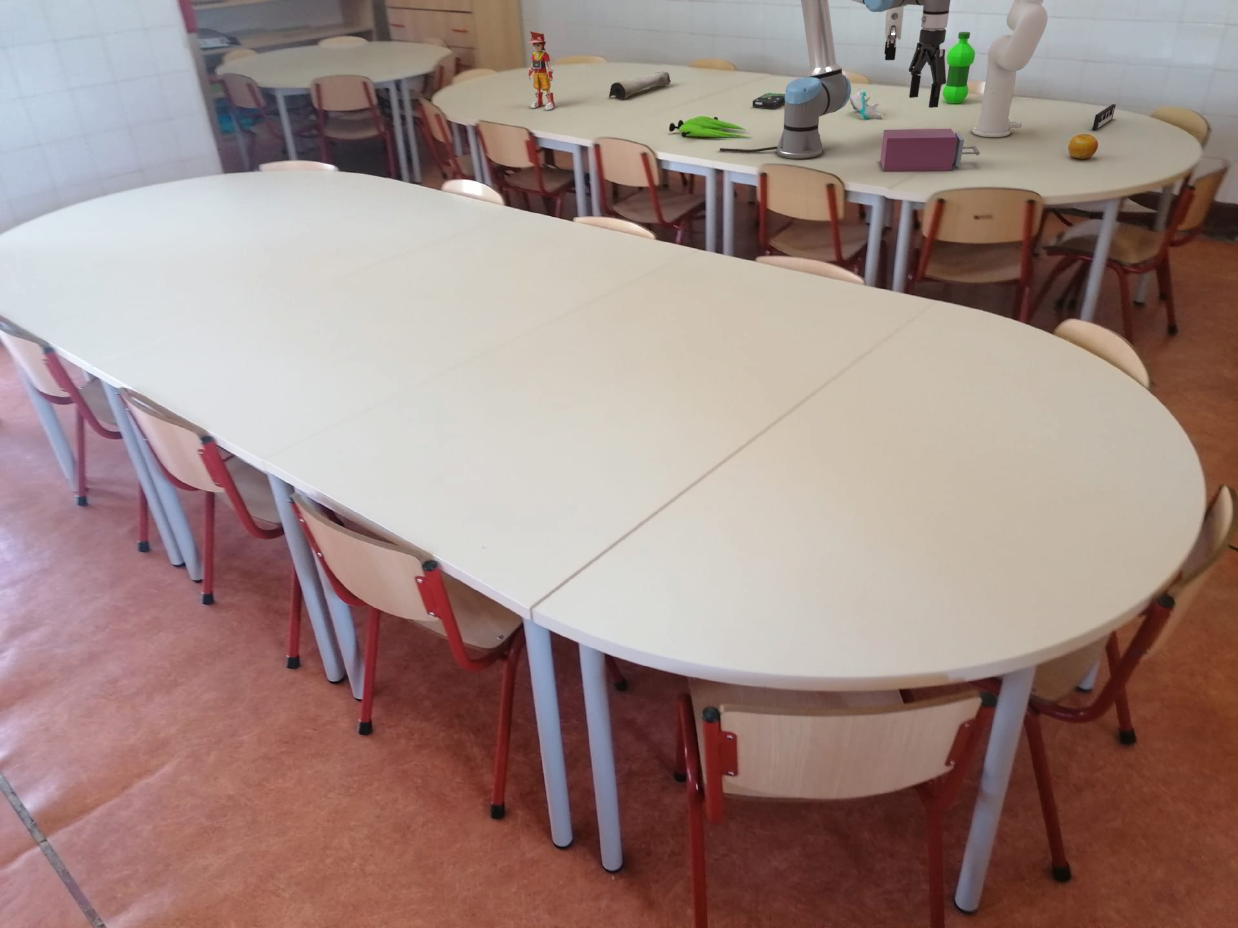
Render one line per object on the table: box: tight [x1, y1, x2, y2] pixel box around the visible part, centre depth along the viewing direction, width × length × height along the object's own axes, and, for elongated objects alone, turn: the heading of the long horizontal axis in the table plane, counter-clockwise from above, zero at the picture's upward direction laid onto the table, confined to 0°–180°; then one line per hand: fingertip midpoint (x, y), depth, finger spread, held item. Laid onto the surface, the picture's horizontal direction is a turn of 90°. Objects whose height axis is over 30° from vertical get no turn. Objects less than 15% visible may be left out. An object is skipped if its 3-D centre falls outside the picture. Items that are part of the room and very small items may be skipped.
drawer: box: [953, 131, 981, 167], centre depth 288 cm, size 26×9×8 cm, turn 83°
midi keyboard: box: [1091, 103, 1117, 131], centre depth 317 cm, size 18×1×5 cm, turn 138°
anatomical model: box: [849, 88, 884, 120], centre depth 343 cm, size 15×10×10 cm
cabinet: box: [879, 128, 957, 172], centre depth 288 cm, size 21×10×10 cm, turn 83°
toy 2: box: [668, 115, 748, 138], centre depth 334 cm, size 28×5×30 cm
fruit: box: [1067, 133, 1099, 160], centre depth 287 cm, size 8×8×8 cm
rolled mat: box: [608, 71, 672, 101], centre depth 395 cm, size 30×9×10 cm
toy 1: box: [527, 31, 556, 111], centre depth 374 cm, size 12×9×30 cm
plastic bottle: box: [942, 31, 976, 104], centre depth 348 cm, size 10×10×25 cm
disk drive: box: [752, 92, 785, 110], centre depth 366 cm, size 10×3×15 cm
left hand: (923, 102), depth 283 cm, fingers open, 13 cm apart
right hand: (889, 57), depth 302 cm, fingers open, 9 cm apart
